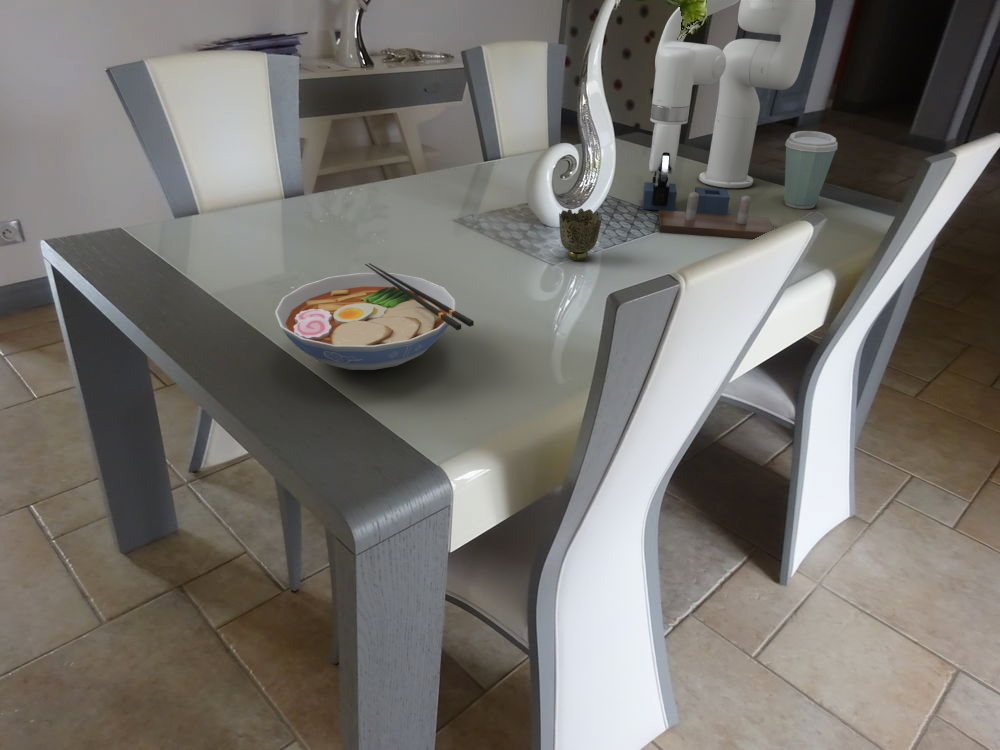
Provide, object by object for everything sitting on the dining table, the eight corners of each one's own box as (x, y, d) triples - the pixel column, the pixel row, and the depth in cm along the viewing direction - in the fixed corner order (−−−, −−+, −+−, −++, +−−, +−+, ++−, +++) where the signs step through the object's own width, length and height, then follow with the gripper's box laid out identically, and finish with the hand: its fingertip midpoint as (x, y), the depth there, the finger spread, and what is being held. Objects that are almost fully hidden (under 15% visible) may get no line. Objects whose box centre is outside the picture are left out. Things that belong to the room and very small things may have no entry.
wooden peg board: (658, 216, 155) (662, 183, 151) (767, 224, 152) (774, 190, 148) (659, 232, 146) (664, 197, 142) (775, 240, 143) (783, 205, 140)
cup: (561, 266, 129) (564, 221, 125) (552, 251, 135) (554, 208, 131) (603, 265, 130) (607, 220, 126) (592, 250, 136) (595, 207, 132)
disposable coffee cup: (828, 213, 159) (846, 142, 152) (776, 210, 161) (791, 139, 153) (818, 200, 168) (834, 131, 161) (769, 196, 170) (783, 128, 162)
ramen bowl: (253, 341, 101) (244, 285, 97) (401, 304, 113) (399, 253, 109) (329, 426, 84) (322, 362, 80) (495, 372, 96) (496, 314, 92)
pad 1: (642, 200, 164) (644, 182, 162) (672, 202, 163) (675, 183, 161) (642, 209, 158) (645, 190, 156) (674, 211, 157) (676, 192, 155)
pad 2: (692, 205, 162) (695, 186, 160) (723, 207, 162) (726, 189, 160) (694, 214, 157) (697, 195, 155) (726, 216, 156) (730, 197, 154)
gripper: (650, 105, 159) (640, 188, 168) (651, 121, 144) (641, 211, 153) (685, 106, 158) (674, 190, 167) (691, 123, 143) (678, 213, 152)
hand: (658, 199), depth 160 cm, fingers closed on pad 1, 6 cm apart
